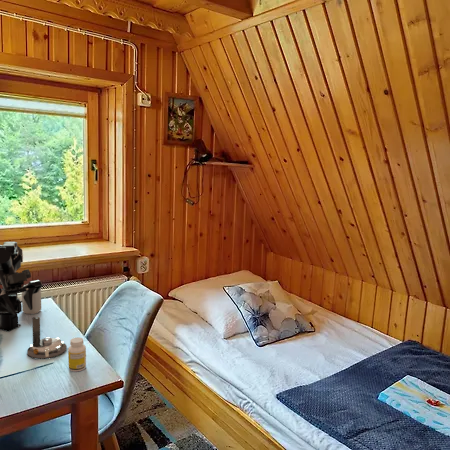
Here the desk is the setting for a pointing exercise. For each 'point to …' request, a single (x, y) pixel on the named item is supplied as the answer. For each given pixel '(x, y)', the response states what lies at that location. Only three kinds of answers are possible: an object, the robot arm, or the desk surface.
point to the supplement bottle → (77, 355)
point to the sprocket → (43, 340)
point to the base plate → (46, 353)
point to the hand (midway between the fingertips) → (23, 311)
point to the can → (35, 303)
